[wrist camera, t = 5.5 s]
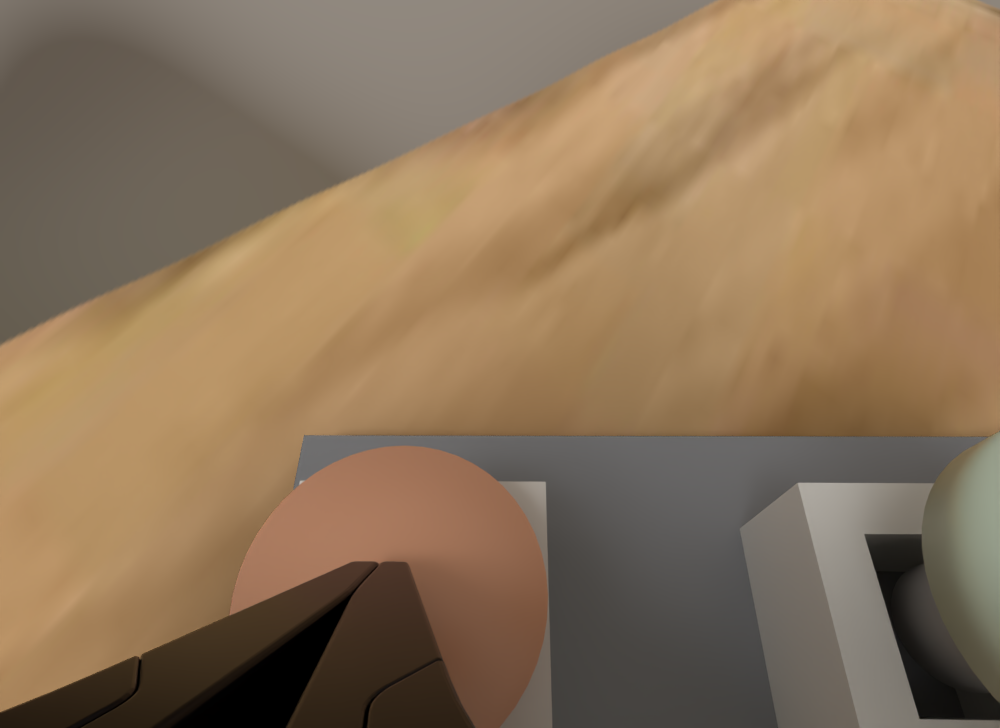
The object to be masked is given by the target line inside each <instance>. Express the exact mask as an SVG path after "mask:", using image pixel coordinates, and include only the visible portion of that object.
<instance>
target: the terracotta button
mask: <svg viewBox="0 0 1000 728" xmlns="http://www.w3.org/2000/svg"><path fill="white" fill-rule="evenodd" d="M354 561H375V562H378V563H379V564H380V563H382V562H384V561H395V562H407V563H408V564H409V566H410V569H411V572H412V575H413V577H414V580H415V583H416V586H417V589H418V591H419V594H420V597H421V600H422V603H423V605H424V608H425V611H426V614H427V616H428V619H429V622H430V625H431V628H432V630H433V633H434V636H435V639H436V642H437V644H438V647H439V650H440V653H441V656H442V658H443V661H444V663H445V665H446V667H447V670H448V673H449V675H450V678H451V681H452V683H453V685H454V688H455V690H456V692H457V694H458V697H459V699H460V701H461V703H462V705H463V707H464V709H465V710H466V712H467V714H468V716H469V717H470V719H471V721H472V723H473V724H474V726H475V728H500V726H501V725H502V724H503V723H504V721H505V720H506V719H507V717H508V716H509V715H510V713H511V712H512V711H513V709H514V708H515V707H516V705H517V703H518V702H519V700H520V698H521V696H522V695H523V693H524V691H525V690H526V688H527V686H528V684H529V681H530V679H531V677H532V674H533V672H534V670H535V667H536V665H537V662H538V658H539V655H540V652H541V648H542V645H543V641H544V635H545V629H546V623H547V611H548V589H547V577H546V570H545V566H544V561H543V556H542V552H541V549H540V546H539V544H538V541H537V538H536V535H535V533H534V531H533V529H532V527H531V525H530V523H529V521H528V519H527V517H526V515H525V513H524V512H523V510H522V509H521V508H520V506H519V505H518V503H517V502H516V500H515V499H514V498H513V497H512V496H511V494H510V493H509V492H508V491H507V490H506V489H505V488H504V487H503V485H501V484H500V483H499V482H498V481H497V480H496V479H494V478H493V477H492V476H491V475H490V474H489V473H487V472H486V471H484V470H483V469H481V468H479V467H478V466H476V465H475V464H473V463H471V462H469V461H467V460H465V459H463V458H461V457H459V456H457V455H453V454H450V453H447V452H444V451H441V450H437V449H432V448H427V447H419V446H389V447H382V448H376V449H371V450H366V451H363V452H360V453H356V454H353V455H350V456H348V457H345V458H343V459H341V460H339V461H336V462H334V463H332V464H330V465H328V466H327V467H325V468H323V469H321V470H320V471H318V472H316V473H315V474H313V475H312V476H311V477H309V478H308V479H307V480H305V481H304V482H302V483H301V484H300V485H299V486H297V487H296V488H295V489H294V490H293V491H292V492H291V493H290V494H289V495H288V496H287V497H285V498H284V499H283V501H282V502H281V503H280V504H279V505H278V506H277V507H276V509H275V510H274V511H273V512H272V513H271V514H270V516H269V517H268V519H267V520H266V521H265V523H264V524H263V526H262V527H261V528H260V530H259V531H258V533H257V535H256V537H255V538H254V540H253V542H252V544H251V546H250V547H249V549H248V551H247V554H246V556H245V558H244V561H243V563H242V566H241V568H240V570H239V574H238V577H237V581H236V584H235V587H234V591H233V596H232V602H231V608H230V614H229V616H230V615H232V614H234V613H237V612H239V611H241V610H243V609H246V608H248V607H250V606H253V605H255V604H257V603H259V602H262V601H264V600H266V599H268V598H271V597H273V596H275V595H277V594H280V593H282V592H284V591H287V590H289V589H291V588H293V587H296V586H298V585H300V584H302V583H305V582H307V581H309V580H312V579H314V578H316V577H318V576H321V575H323V574H325V573H327V572H330V571H332V570H334V569H336V568H339V567H341V566H343V565H346V564H348V563H350V562H354Z"/></svg>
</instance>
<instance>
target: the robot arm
mask: <svg viewBox="0 0 1000 728" xmlns="http://www.w3.org/2000/svg"><path fill="white" fill-rule="evenodd" d="M0 728H475V726H474V724H473V723H472V721H471V719H470V717H469V716H468V714H467V712H466V710H465V709H464V707H463V705H462V703H461V701H460V699H459V697H458V694H457V692H456V690H455V688H454V685H453V683H452V681H451V678H450V675H449V673H448V670H447V667H446V665H445V663H444V661H443V658H442V656H441V653H440V650H439V647H438V644H437V642H436V639H435V636H434V633H433V630H432V628H431V625H430V622H429V619H428V616H427V614H426V611H425V608H424V605H423V603H422V600H421V597H420V594H419V591H418V589H417V586H416V583H415V580H414V577H413V575H412V572H411V569H410V566H409V564H408V563H407V562H395V561H384V562H382V563H380V564H379V563H378V562H375V561H354V562H350V563H348V564H346V565H343V566H341V567H339V568H336V569H334V570H332V571H330V572H327V573H325V574H323V575H321V576H318V577H316V578H314V579H312V580H309V581H307V582H305V583H302V584H300V585H298V586H296V587H293V588H291V589H289V590H287V591H284V592H282V593H280V594H277V595H275V596H273V597H271V598H268V599H266V600H264V601H262V602H259V603H257V604H255V605H253V606H250V607H248V608H246V609H243V610H241V611H239V612H237V613H234V614H232V615H230V616H228V617H225V618H223V619H221V620H218V621H216V622H214V623H212V624H209V625H207V626H205V627H203V628H200V629H198V630H196V631H193V632H191V633H189V634H187V635H184V636H182V637H180V638H178V639H175V640H173V641H171V642H169V643H166V644H164V645H162V646H159V647H157V648H155V649H153V650H150V651H148V652H146V653H144V654H142V655H141V658H139V657H137V656H134V657H132V658H129V659H127V660H125V661H122V662H120V663H118V664H116V665H113V666H111V667H109V668H107V669H104V670H102V671H100V672H97V673H95V674H92V675H90V676H88V677H85V678H83V679H81V680H78V681H76V682H74V683H71V684H69V685H66V686H64V687H62V688H59V689H57V690H55V691H52V692H50V693H47V694H45V695H42V696H40V697H37V698H35V699H32V700H30V701H27V702H25V703H22V704H20V705H17V706H15V707H12V708H10V709H7V710H5V711H2V712H0Z"/></svg>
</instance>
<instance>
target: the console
mask: <svg viewBox="0 0 1000 728" xmlns="http://www.w3.org/2000/svg"><path fill="white" fill-rule="evenodd" d="M986 438H988V437H805V436H315V435H304V438H303V443H302V448H301V453H300V458H299V463H298V468H297V473H296V478H295V484H294V489H295V488H296V487H297V486H299V485H300V484H301V483H302V482H304V481H305V480H307V479H308V478H309V477H311V476H312V475H313V474H315V473H316V472H318V471H320V470H321V469H323V468H325V467H327V466H328V465H330V464H332V463H334V462H336V461H339V460H341V459H343V458H345V457H348V456H350V455H353V454H356V453H360V452H363V451H366V450H371V449H376V448H382V447H389V446H419V447H427V448H432V449H437V450H441V451H444V452H447V453H450V454H453V455H457V456H459V457H461V458H463V459H465V460H467V461H469V462H471V463H473V464H475V465H476V466H478V467H479V468H481V469H483V470H484V471H486V472H487V473H489V474H490V475H491V476H492V477H493V478H494V479H496V480H497V481H498V482H499V483H500V484H501V485H503V487H504V488H505V489H506V490H507V491H508V492H509V493H510V494H511V496H512V497H513V498H514V499H515V500H516V502H517V503H518V505H519V506H520V508H521V509H522V510H523V512H524V513H525V515H526V517H527V519H528V521H529V523H530V525H531V527H532V529H533V531H534V533H535V535H536V538H537V541H538V544H539V546H540V549H541V552H542V556H543V561H544V566H545V570H546V577H547V589H548V611H547V623H546V629H545V635H544V641H543V645H542V648H541V652H540V655H539V658H538V662H537V665H536V667H535V670H534V672H533V674H532V677H531V679H530V681H529V684H528V686H527V688H526V690H525V691H524V693H523V695H522V696H521V698H520V700H519V702H518V703H517V705H516V707H515V708H514V709H513V711H512V712H511V713H510V715H509V716H508V717H507V719H506V720H505V721H504V723H503V724H502V725H501V726H500V728H1000V703H999V702H998V701H997V700H996V699H995V698H994V697H993V696H992V695H991V693H971V692H966V691H961V690H958V689H955V688H953V687H950V686H948V685H946V684H944V683H942V682H941V681H939V680H937V679H936V678H934V677H933V676H932V675H930V674H929V673H928V672H926V671H925V670H924V669H923V668H922V667H921V666H920V665H919V664H918V663H917V662H916V661H915V660H914V659H913V658H912V656H911V655H910V654H909V652H908V651H907V650H906V648H905V647H904V645H903V643H902V642H901V640H900V638H899V636H898V634H897V631H896V628H895V626H894V622H893V618H892V612H891V598H892V592H893V589H894V586H895V584H896V582H897V581H898V579H899V578H900V577H901V575H902V574H904V573H905V572H906V571H907V570H909V569H910V568H912V567H915V566H917V565H920V564H923V563H924V559H923V552H922V522H923V515H924V509H925V505H926V502H927V499H928V496H929V493H930V490H931V489H932V487H933V485H934V483H935V481H936V479H937V478H938V476H939V475H940V473H941V472H942V471H943V470H944V469H945V467H946V466H947V465H948V464H949V463H950V462H951V461H952V460H953V459H954V458H956V457H957V456H958V455H959V454H961V453H962V452H963V451H965V450H967V449H969V448H970V447H972V446H974V445H976V444H977V443H979V442H981V441H983V440H984V439H986ZM294 489H293V490H294Z"/></svg>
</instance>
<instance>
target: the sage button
mask: <svg viewBox="0 0 1000 728" xmlns="http://www.w3.org/2000/svg"><path fill="white" fill-rule="evenodd" d="M922 552H923V559H924V563H923V564H920V565H917V566H915V567H912V568H910V569H909V570H907V571H906V572H905V573H904V574H902V575H901V577H900V578H899V579H898V581H897V582H896V584H895V586H894V589H893V592H892V598H891V612H892V618H893V622H894V626H895V628H896V631H897V634H898V636H899V638H900V640H901V642H902V643H903V645H904V647H905V648H906V650H907V651H908V652H909V654H910V655H911V656H912V658H913V659H914V660H915V661H916V662H917V663H918V664H919V665H920V666H921V667H922V668H923V669H924V670H925V671H926V672H928V673H929V674H930V675H932V676H933V677H934V678H936V679H937V680H939V681H941V682H942V683H944V684H946V685H948V686H950V687H953V688H955V689H958V690H961V691H966V692H971V693H991V695H992V696H993V697H994V698H995V699H996V700H997V701H998V702H999V703H1000V431H999V432H997V433H995V434H993V435H992V436H990V437H988V438H986V439H984V440H983V441H981V442H979V443H977V444H976V445H974V446H972V447H970V448H969V449H967V450H965V451H963V452H962V453H961V454H959V455H958V456H957V457H956V458H954V459H953V460H952V461H951V462H950V463H949V464H948V465H947V466H946V467H945V469H944V470H943V471H942V472H941V473H940V475H939V476H938V478H937V479H936V481H935V483H934V485H933V487H932V489H931V490H930V493H929V496H928V499H927V502H926V505H925V509H924V515H923V522H922Z"/></svg>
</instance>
